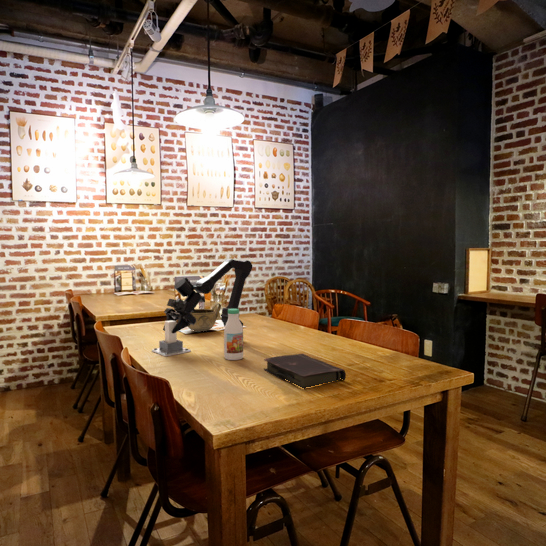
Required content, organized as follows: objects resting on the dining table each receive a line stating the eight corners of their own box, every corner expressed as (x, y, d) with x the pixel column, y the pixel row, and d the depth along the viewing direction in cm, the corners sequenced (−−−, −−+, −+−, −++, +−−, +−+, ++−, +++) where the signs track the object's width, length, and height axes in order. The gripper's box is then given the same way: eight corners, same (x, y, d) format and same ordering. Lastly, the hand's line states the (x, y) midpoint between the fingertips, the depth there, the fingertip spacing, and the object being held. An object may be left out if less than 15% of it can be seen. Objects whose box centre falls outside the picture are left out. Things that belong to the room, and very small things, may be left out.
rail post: (172, 348, 187) (172, 320, 186) (176, 349, 184) (176, 321, 183) (165, 349, 184) (164, 321, 184) (169, 351, 182) (168, 322, 181)
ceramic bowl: (183, 336, 216) (183, 306, 215) (175, 330, 231) (175, 302, 230) (225, 332, 226) (225, 303, 225) (215, 326, 241) (215, 300, 240)
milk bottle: (220, 359, 172) (220, 309, 171) (231, 354, 179) (230, 307, 178) (236, 361, 169) (236, 311, 167) (246, 357, 175) (246, 308, 174)
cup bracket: (176, 346, 193) (176, 337, 193) (190, 351, 184) (190, 341, 184) (151, 351, 185) (151, 341, 185) (165, 356, 176) (165, 345, 176)
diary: (303, 365, 166) (303, 352, 166) (345, 383, 145) (346, 368, 144) (261, 371, 157) (261, 358, 156) (300, 391, 135) (300, 376, 135)
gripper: (167, 290, 192) (145, 317, 186) (189, 293, 179) (166, 323, 172) (183, 305, 198) (162, 332, 191) (205, 310, 184) (183, 339, 178)
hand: (167, 331), depth 183 cm, fingers open, 7 cm apart
